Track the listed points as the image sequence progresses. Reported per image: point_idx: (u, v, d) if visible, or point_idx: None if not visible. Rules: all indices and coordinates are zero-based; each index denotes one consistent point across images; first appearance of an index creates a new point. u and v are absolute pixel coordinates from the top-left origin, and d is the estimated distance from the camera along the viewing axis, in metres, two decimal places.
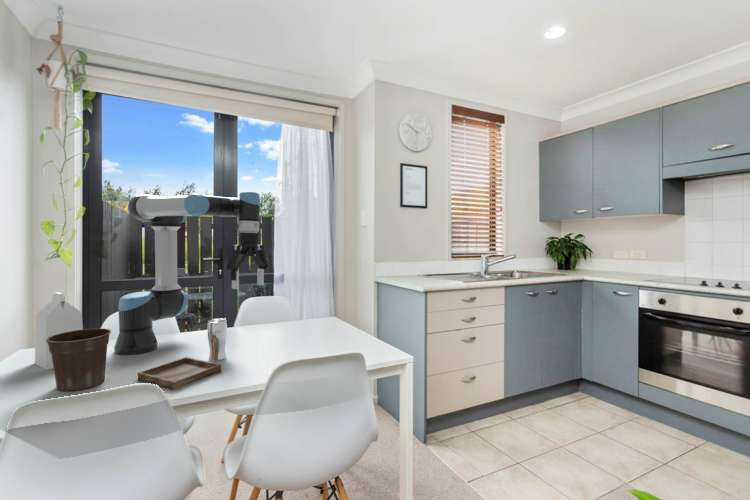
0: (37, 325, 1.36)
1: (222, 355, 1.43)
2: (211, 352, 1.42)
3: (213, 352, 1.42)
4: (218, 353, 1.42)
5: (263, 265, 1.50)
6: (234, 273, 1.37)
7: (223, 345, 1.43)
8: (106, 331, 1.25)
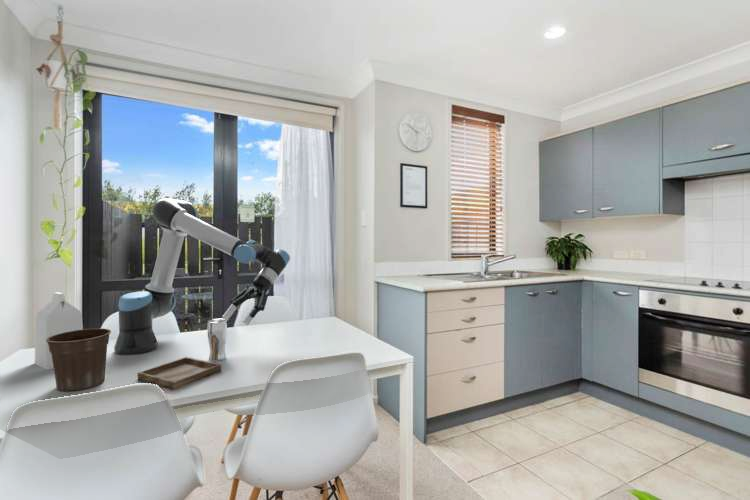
0: (37, 325, 1.36)
1: (222, 355, 1.43)
2: (211, 352, 1.42)
3: (213, 352, 1.42)
4: (218, 353, 1.42)
5: (238, 304, 1.58)
6: None
7: (223, 345, 1.43)
8: (106, 331, 1.25)
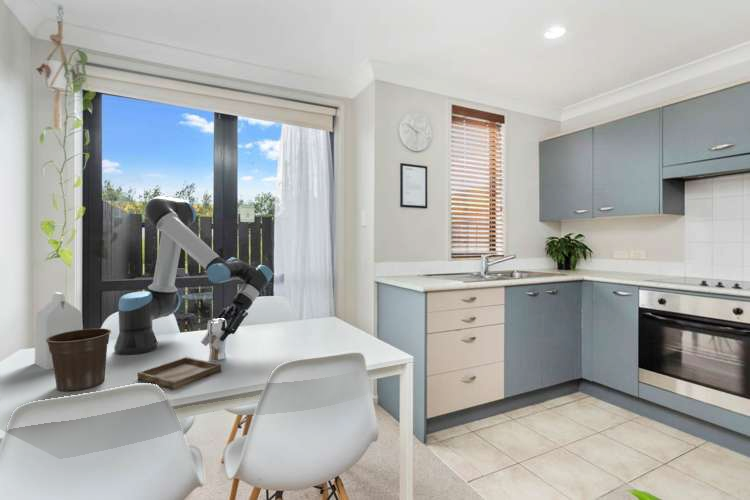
0: (37, 325, 1.36)
1: (222, 355, 1.43)
2: (211, 352, 1.42)
3: (213, 352, 1.42)
4: (218, 353, 1.42)
5: None
6: None
7: (223, 345, 1.43)
8: (106, 331, 1.25)
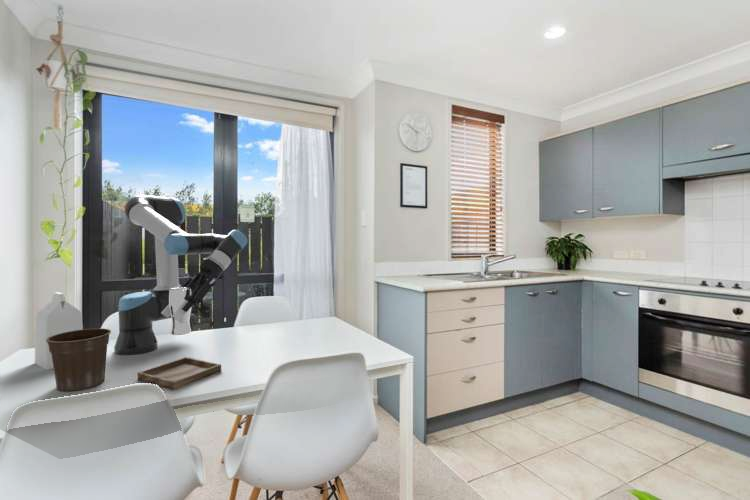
0: (37, 325, 1.36)
1: (186, 328, 1.25)
2: (173, 324, 1.24)
3: (175, 324, 1.24)
4: (182, 325, 1.24)
5: None
6: None
7: (187, 317, 1.25)
8: (106, 331, 1.25)
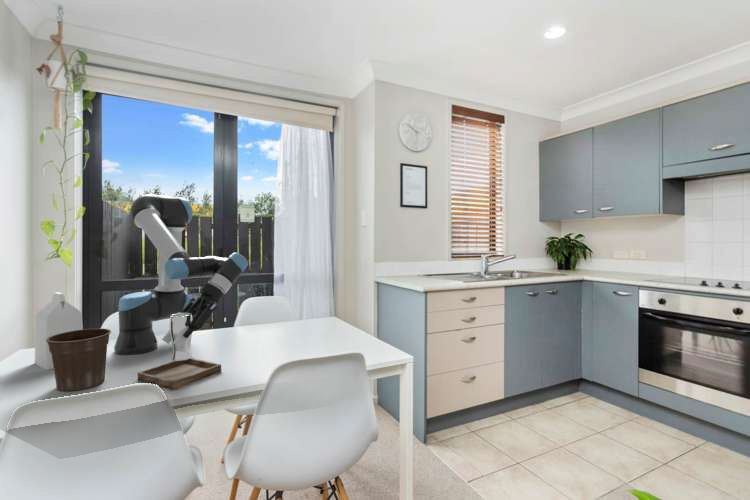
0: (37, 325, 1.36)
1: (187, 354, 1.25)
2: (174, 351, 1.24)
3: (176, 351, 1.24)
4: (182, 352, 1.24)
5: None
6: None
7: (188, 343, 1.25)
8: (106, 331, 1.25)
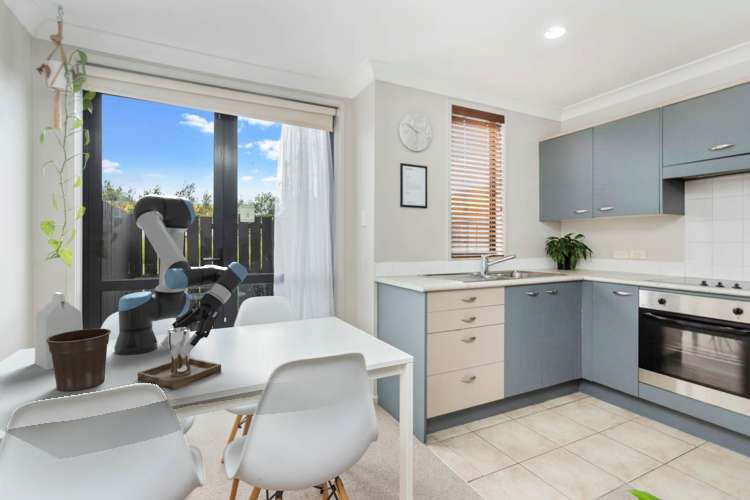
0: (37, 325, 1.36)
1: (186, 369, 1.25)
2: (173, 366, 1.24)
3: (175, 366, 1.24)
4: (181, 366, 1.25)
5: None
6: None
7: (186, 357, 1.26)
8: (106, 331, 1.25)
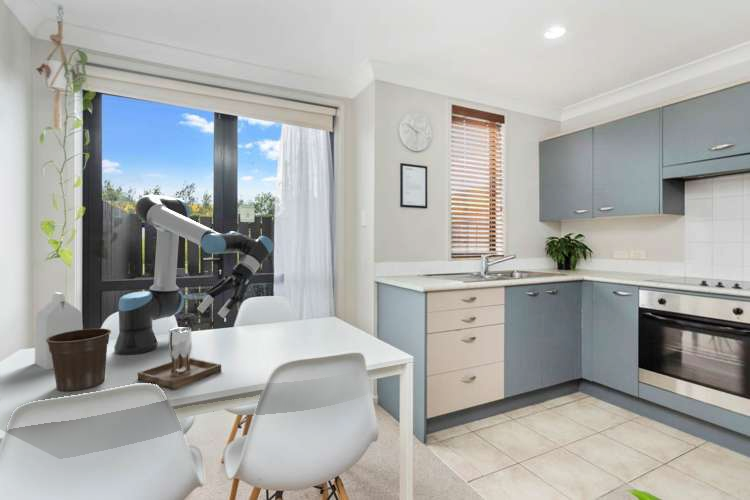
0: (37, 325, 1.36)
1: (186, 369, 1.25)
2: (173, 366, 1.24)
3: (175, 366, 1.24)
4: (182, 367, 1.25)
5: (215, 295, 1.44)
6: None
7: (187, 358, 1.26)
8: (106, 331, 1.25)
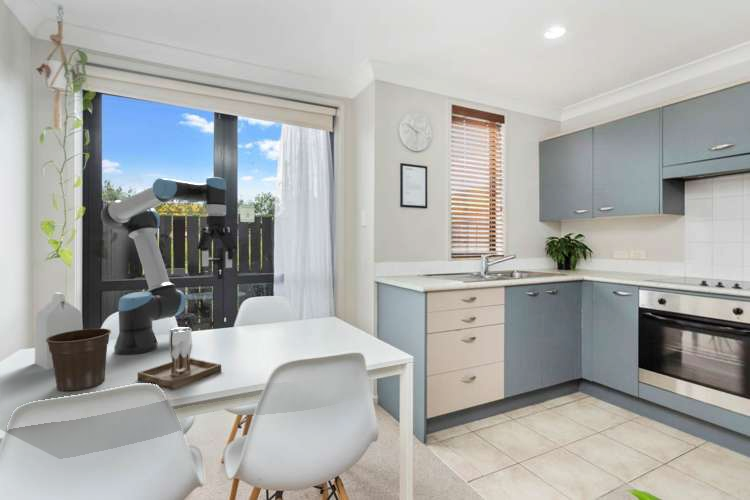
0: (37, 325, 1.36)
1: (186, 369, 1.25)
2: (173, 366, 1.24)
3: (175, 366, 1.24)
4: (182, 367, 1.25)
5: None
6: None
7: (187, 358, 1.26)
8: (106, 331, 1.25)
